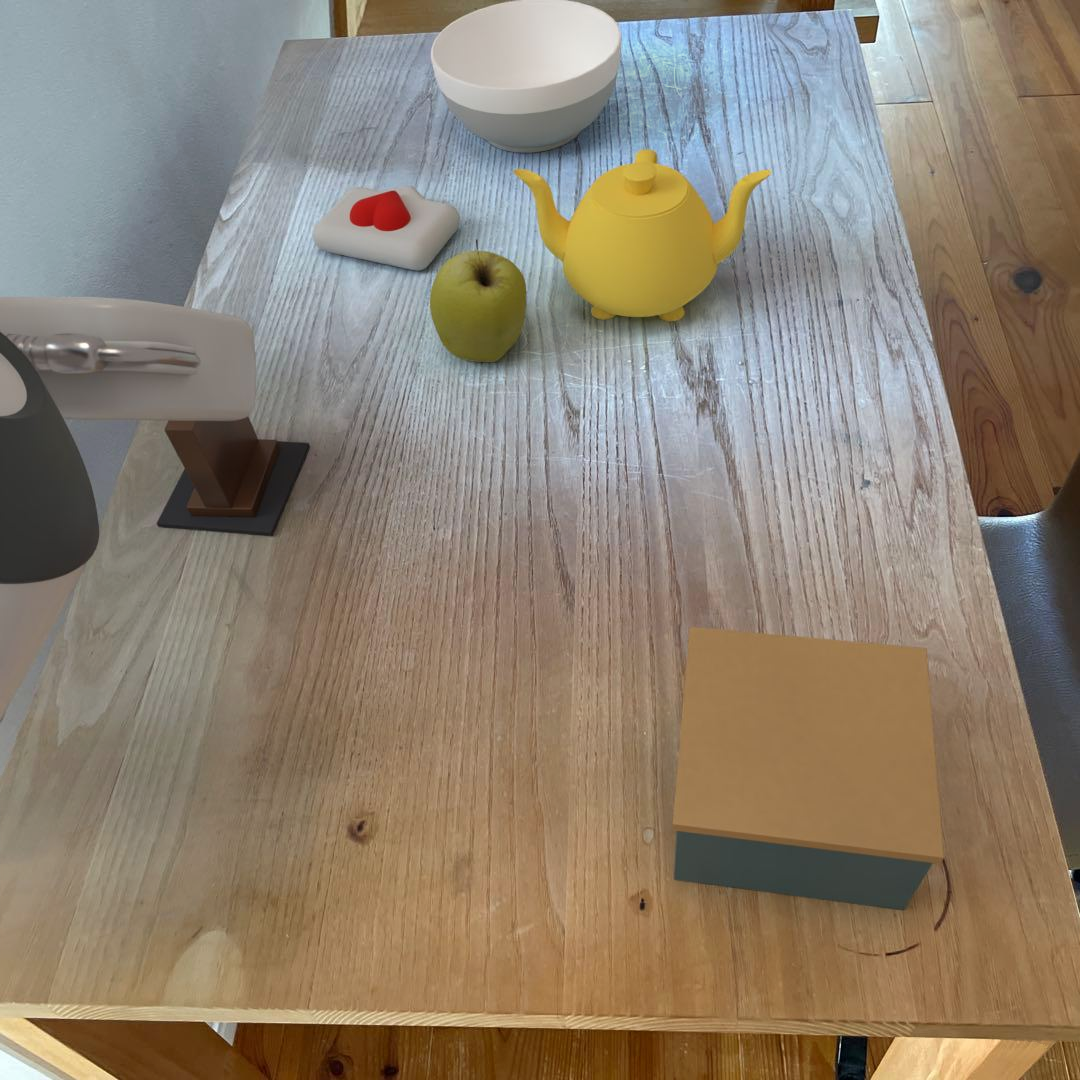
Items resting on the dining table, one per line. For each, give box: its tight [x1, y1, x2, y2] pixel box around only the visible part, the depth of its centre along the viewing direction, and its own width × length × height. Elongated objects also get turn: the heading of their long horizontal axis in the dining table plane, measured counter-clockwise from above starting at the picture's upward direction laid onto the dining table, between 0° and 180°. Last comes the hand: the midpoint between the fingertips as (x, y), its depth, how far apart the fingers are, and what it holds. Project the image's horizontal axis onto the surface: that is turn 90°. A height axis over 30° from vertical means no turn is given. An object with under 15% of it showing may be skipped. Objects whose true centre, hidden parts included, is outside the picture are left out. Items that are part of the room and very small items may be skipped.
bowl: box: [430, 0, 623, 154], centre depth 101 cm, size 19×19×9 cm
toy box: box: [671, 626, 945, 911], centre depth 53 cm, size 11×12×8 cm
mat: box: [156, 440, 311, 537], centre depth 75 cm, size 9×9×1 cm
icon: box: [312, 185, 461, 271], centre depth 92 cm, size 12×4×10 cm
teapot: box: [513, 148, 772, 322], centre depth 82 cm, size 20×15×12 cm
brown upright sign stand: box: [163, 416, 280, 517], centre depth 71 cm, size 7×5×9 cm
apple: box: [429, 238, 527, 363], centre depth 79 cm, size 8×8×10 cm
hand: (81, 375), depth 42 cm, fingers open, 8 cm apart
